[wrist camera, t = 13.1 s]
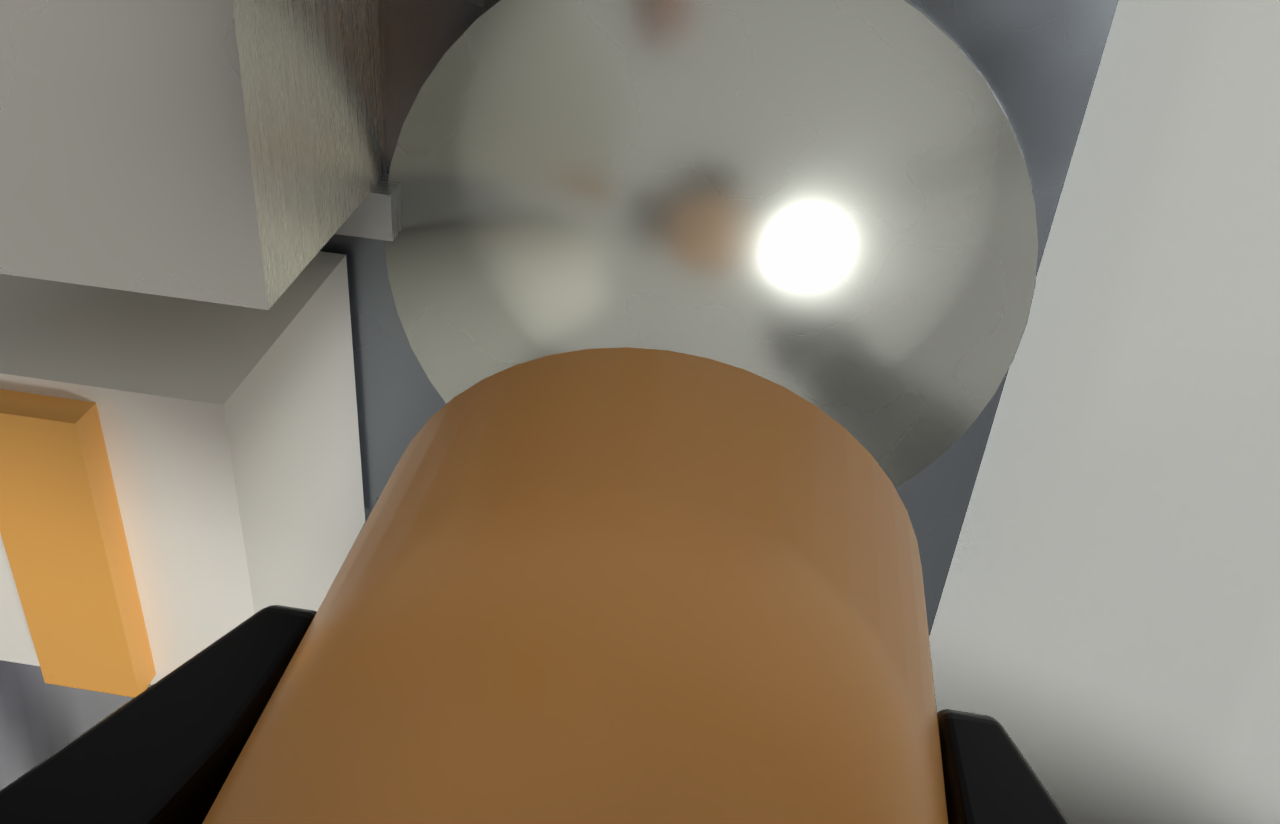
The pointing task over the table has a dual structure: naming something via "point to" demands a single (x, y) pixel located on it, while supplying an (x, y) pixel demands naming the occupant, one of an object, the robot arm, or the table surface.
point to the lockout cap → (613, 619)
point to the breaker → (168, 470)
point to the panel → (577, 189)
